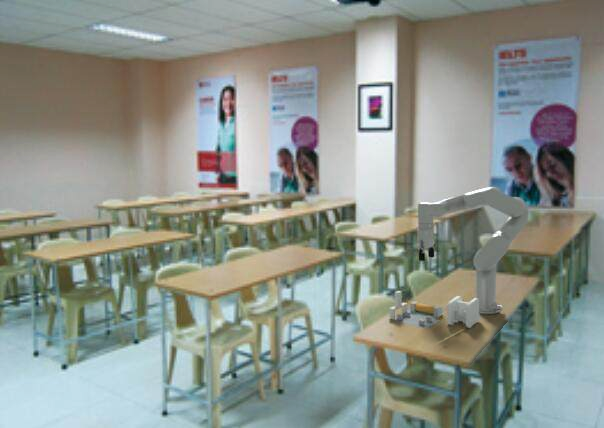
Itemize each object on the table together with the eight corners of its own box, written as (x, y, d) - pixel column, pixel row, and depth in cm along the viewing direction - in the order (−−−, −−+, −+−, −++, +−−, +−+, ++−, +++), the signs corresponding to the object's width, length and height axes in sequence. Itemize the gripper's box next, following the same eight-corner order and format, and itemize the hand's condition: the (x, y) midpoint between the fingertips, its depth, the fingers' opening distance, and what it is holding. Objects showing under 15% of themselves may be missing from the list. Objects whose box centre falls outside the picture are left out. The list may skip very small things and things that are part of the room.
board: (440, 322, 241) (440, 316, 240) (425, 329, 232) (425, 323, 231) (404, 314, 255) (404, 308, 255) (389, 320, 246) (389, 315, 246)
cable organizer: (468, 330, 228) (468, 305, 227) (445, 326, 235) (445, 302, 233) (479, 321, 240) (479, 297, 239) (457, 317, 247) (457, 294, 245)
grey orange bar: (442, 314, 250) (442, 306, 249) (438, 317, 247) (438, 308, 246) (414, 309, 260) (414, 301, 260) (410, 311, 257) (410, 303, 257)
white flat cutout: (407, 313, 253) (407, 289, 251) (393, 319, 245) (393, 294, 243) (403, 312, 255) (402, 288, 253) (389, 318, 246) (389, 294, 245)
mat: (446, 314, 252) (446, 313, 252) (433, 320, 244) (433, 319, 244) (415, 307, 265) (414, 306, 265) (401, 313, 257) (401, 311, 257)
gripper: (427, 223, 272) (428, 255, 274) (410, 228, 260) (411, 261, 262) (440, 224, 267) (441, 256, 269) (423, 228, 255) (424, 262, 257)
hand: (426, 258), depth 265 cm, fingers open, 9 cm apart
